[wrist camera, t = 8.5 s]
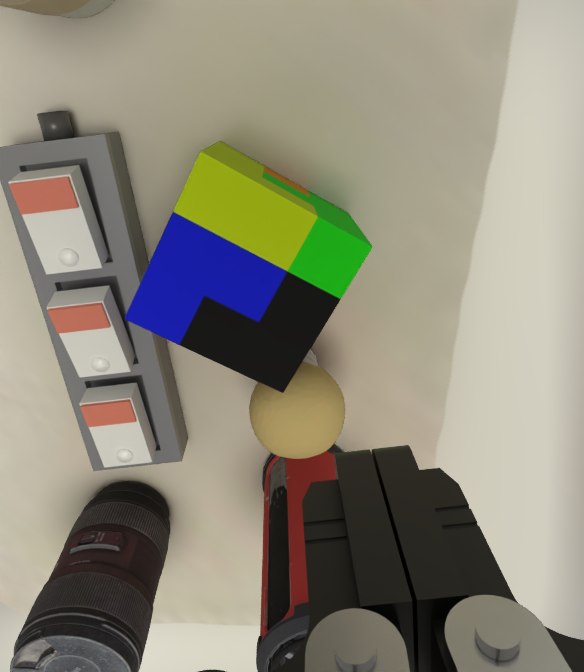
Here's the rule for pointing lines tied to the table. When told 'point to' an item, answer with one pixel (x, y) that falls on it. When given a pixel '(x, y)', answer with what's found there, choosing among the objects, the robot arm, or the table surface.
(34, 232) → the rocker
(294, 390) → the beige rounded piece
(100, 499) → the camera lens
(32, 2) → the coffee cup
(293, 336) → the puzzle toy
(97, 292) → the rocker
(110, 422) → the rocker
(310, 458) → the speaker
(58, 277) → the power strip
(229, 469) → the table surface
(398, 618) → the robot arm
